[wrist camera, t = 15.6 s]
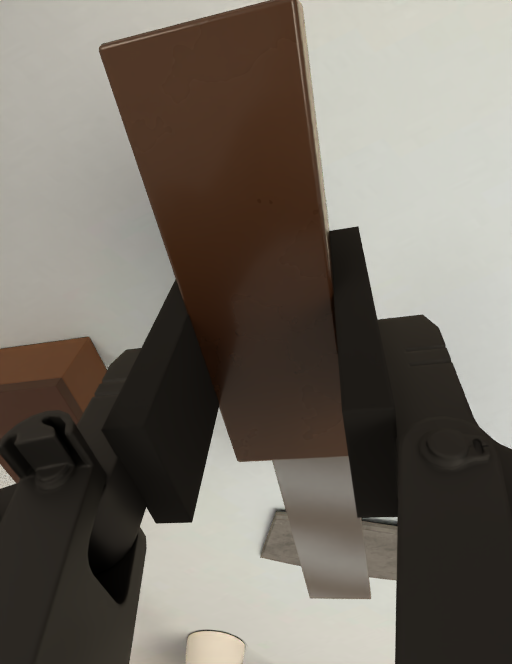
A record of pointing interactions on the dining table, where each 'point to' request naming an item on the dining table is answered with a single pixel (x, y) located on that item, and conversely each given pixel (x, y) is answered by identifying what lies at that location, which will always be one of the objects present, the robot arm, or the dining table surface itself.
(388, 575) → the cleaver
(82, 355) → the cake
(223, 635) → the cup
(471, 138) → the dining table surface
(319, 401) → the knife
